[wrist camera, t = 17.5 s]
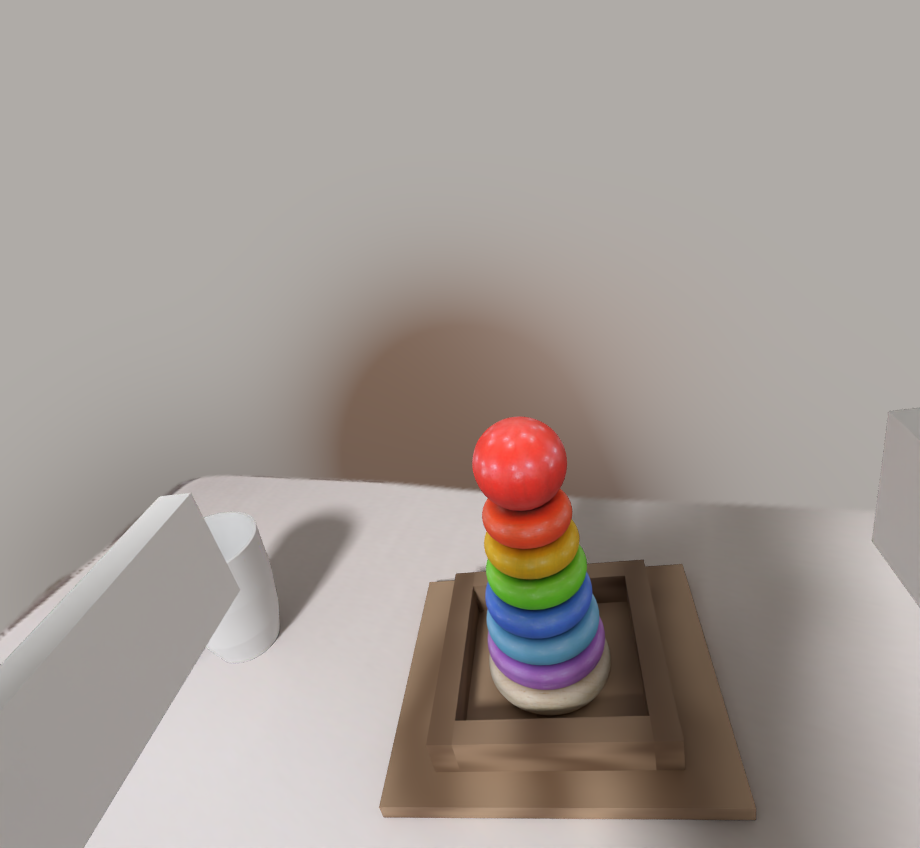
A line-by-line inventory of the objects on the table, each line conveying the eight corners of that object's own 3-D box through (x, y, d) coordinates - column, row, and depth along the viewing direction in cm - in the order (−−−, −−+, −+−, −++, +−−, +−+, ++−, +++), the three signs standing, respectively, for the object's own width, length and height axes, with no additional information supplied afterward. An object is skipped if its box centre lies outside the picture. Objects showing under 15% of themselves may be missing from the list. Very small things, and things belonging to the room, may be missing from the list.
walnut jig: (682, 574, 46) (681, 538, 45) (755, 819, 31) (757, 778, 29) (432, 591, 50) (422, 559, 49) (383, 817, 35) (367, 780, 33)
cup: (259, 591, 55) (217, 502, 50) (317, 620, 50) (277, 524, 45) (181, 657, 49) (126, 564, 45) (237, 696, 45) (182, 596, 40)
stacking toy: (505, 736, 36) (437, 481, 28) (483, 637, 43) (424, 409, 35) (631, 703, 37) (602, 440, 28) (588, 610, 44) (555, 377, 35)
